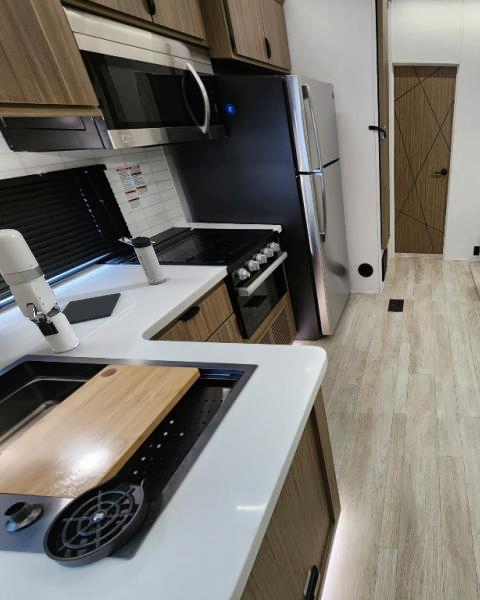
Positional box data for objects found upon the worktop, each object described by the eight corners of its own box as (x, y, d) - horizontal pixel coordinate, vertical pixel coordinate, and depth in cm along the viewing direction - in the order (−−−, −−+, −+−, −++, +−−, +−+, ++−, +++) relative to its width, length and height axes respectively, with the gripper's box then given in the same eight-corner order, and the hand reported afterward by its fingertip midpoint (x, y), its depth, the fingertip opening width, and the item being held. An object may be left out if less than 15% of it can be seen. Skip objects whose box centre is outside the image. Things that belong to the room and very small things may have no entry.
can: (49, 355, 100) (27, 322, 94) (58, 344, 105) (38, 311, 99) (76, 350, 102) (56, 317, 96) (83, 339, 107) (65, 307, 102)
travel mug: (163, 277, 150) (146, 234, 140) (167, 281, 146) (150, 238, 136) (147, 281, 146) (129, 238, 137) (150, 286, 142) (132, 241, 132)
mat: (52, 327, 113) (51, 325, 113) (70, 303, 129) (69, 301, 129) (110, 316, 120) (109, 314, 120) (120, 294, 136) (120, 292, 135)
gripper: (18, 266, 97) (50, 318, 105) (-11, 289, 83) (27, 347, 92) (52, 262, 100) (80, 313, 109) (29, 283, 87) (62, 339, 95)
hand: (55, 328), depth 100 cm, fingers closed on can, 6 cm apart
